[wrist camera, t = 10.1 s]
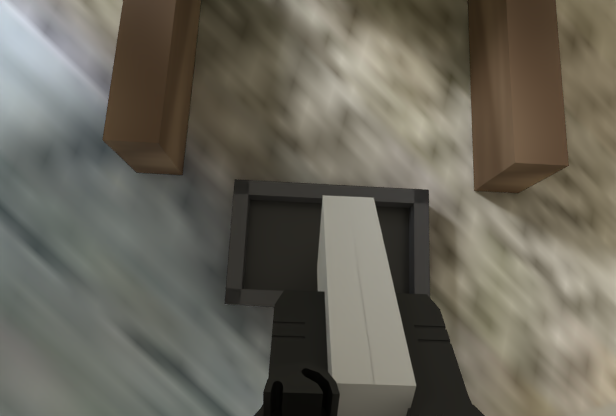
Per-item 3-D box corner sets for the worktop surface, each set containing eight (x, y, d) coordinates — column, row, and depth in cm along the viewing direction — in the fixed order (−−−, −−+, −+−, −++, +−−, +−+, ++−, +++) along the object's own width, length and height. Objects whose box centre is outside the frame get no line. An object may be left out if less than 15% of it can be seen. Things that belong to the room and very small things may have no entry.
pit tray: (229, 304, 20) (224, 303, 19) (238, 189, 21) (234, 179, 20) (419, 313, 20) (430, 313, 19) (418, 198, 21) (428, 189, 20)
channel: (136, 172, 21) (102, 139, 17) (164, -42, 24) (140, -114, 20) (518, 192, 22) (568, 165, 18) (506, -20, 24) (548, -85, 20)
